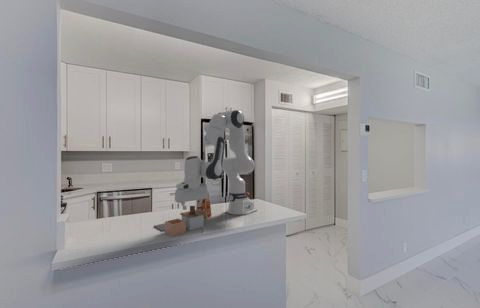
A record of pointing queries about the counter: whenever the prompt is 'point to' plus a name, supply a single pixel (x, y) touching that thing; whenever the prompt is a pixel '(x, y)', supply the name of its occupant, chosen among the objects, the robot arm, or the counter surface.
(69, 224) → the counter surface
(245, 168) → the robot arm
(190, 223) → the blue-grey open box
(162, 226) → the mat
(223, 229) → the counter surface
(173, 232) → the orange open box
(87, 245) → the counter surface
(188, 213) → the lid
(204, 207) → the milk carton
